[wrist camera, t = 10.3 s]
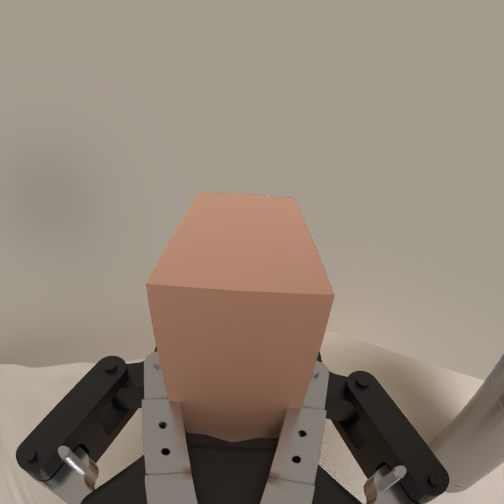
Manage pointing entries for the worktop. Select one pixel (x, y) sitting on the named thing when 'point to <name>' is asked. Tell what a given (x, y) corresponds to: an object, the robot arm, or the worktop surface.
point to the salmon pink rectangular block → (239, 313)
